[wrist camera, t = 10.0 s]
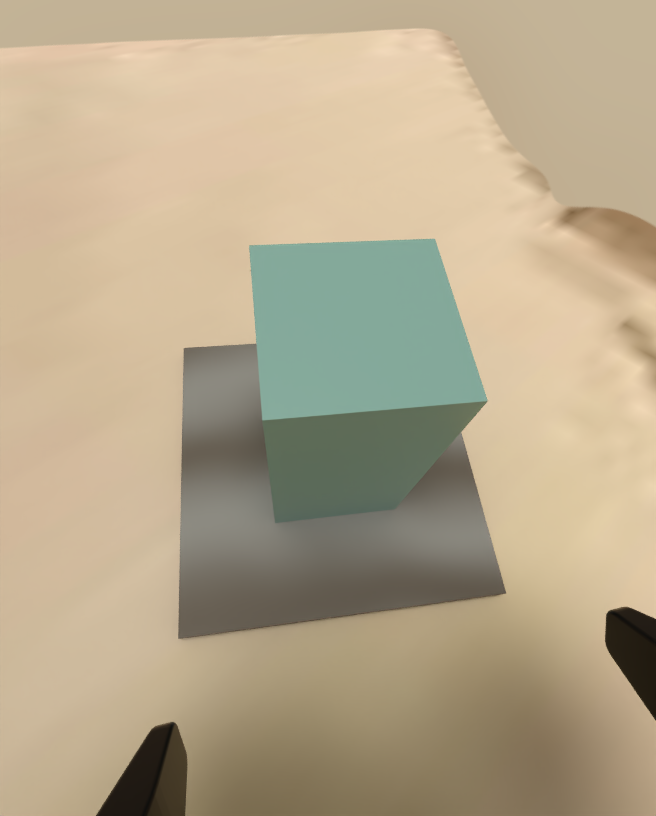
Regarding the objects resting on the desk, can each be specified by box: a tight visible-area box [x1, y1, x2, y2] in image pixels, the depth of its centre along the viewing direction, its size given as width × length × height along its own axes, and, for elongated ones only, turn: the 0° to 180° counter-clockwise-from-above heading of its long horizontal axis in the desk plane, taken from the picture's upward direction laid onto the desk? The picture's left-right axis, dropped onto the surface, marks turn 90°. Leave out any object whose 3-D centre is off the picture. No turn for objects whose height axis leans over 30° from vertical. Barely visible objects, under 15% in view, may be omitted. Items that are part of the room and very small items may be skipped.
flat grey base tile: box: [178, 344, 506, 639], centre depth 20 cm, size 14×14×5 cm
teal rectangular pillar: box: [249, 239, 487, 523], centre depth 17 cm, size 6×6×11 cm
